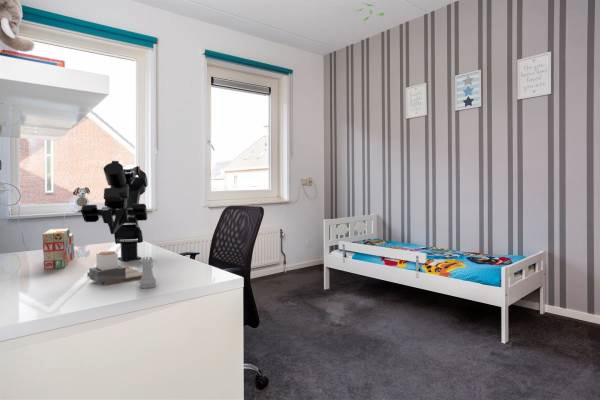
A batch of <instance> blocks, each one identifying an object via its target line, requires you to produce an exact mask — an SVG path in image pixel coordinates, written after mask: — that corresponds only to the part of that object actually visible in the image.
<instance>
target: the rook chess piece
mask: <svg viewBox="0 0 600 400" xmlns="http://www.w3.org/2000/svg"><path fill="white" fill-rule="evenodd" d="M141 259H142V260H141V261H140V264H141V265H142V266H141V268H142V272H143V273H142V278H141V279H139V282H138V283H139V285H138V286H139V287H140V289H151V288H155V287H156V286H157V283H156V281H157V280H156V278H155V276H154V274H153V273H154V272H153V262H154V259H153V257H152V256H151V257H150V256H149V257H148V256H146V257H141Z"/></svg>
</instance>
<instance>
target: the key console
mask: <svg viewBox="0 0 600 400" xmlns="http://www.w3.org/2000/svg"><path fill="white" fill-rule="evenodd" d="M86 273H87V277H89V279H90V280H92V281H94V282H95V283H97V284H101V283H102V285H103V286H106V287H107V286H110V285H116V284H122V283H126V282H133V281H137V280H141V278H142V273H143V271H140V270H137V269H134V268H133V267H130V266H122V265H120V264H118V268H115V269H109V270H100V269H97V266H95V267H89V272H86Z"/></svg>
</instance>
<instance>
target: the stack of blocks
mask: <svg viewBox="0 0 600 400" xmlns="http://www.w3.org/2000/svg"><path fill="white" fill-rule="evenodd" d="M42 251H43V270H53V269H55V270H56V269H65V268H66V267H67V266H68V265H69V264H70V263H71V261H72V260H73V259H74V258H75V241H74V233H70V228H51V229H48V230H47V231H45V232H44V233H42Z"/></svg>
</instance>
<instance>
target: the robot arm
mask: <svg viewBox="0 0 600 400" xmlns="http://www.w3.org/2000/svg"><path fill="white" fill-rule="evenodd" d="M103 173H104V177H105V180H106V182H107V185H108V186H110V187H106V188H103V200H104V206H102V207H101V209H98V205H97V204H83V205H82V206H81V208H80V212H81V215H82V218H83V221H84V222H86V223H96V222H98V221H99V220H100V217H101V218H102V221H103V223H104V224H107V226H108V228H109V231H110V235H114V241H115V245H118V244H120V256H118V261H119V260H120V261H123V262H127V261H134V260H141V259H142V257H141V256H139V255H138V253H139V251H138V244H141V243H143V242H144V236H143V231H142V230H141V227H140V225H139V221H141V222H142V221H147V220H148V209H147V205H146V204H145V203H140V198H141V195H143V194H145V193H146V190H147V187H149V186H148V185H149V184H148V177H147V174H146V172H145V171H143V170H142V169H141V167H140V165H137V164H127V165H125V166H123V165H122V164H121V163H120V162H119V160H111V162H110V163H108V164H106V165H105V166H103Z"/></svg>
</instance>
